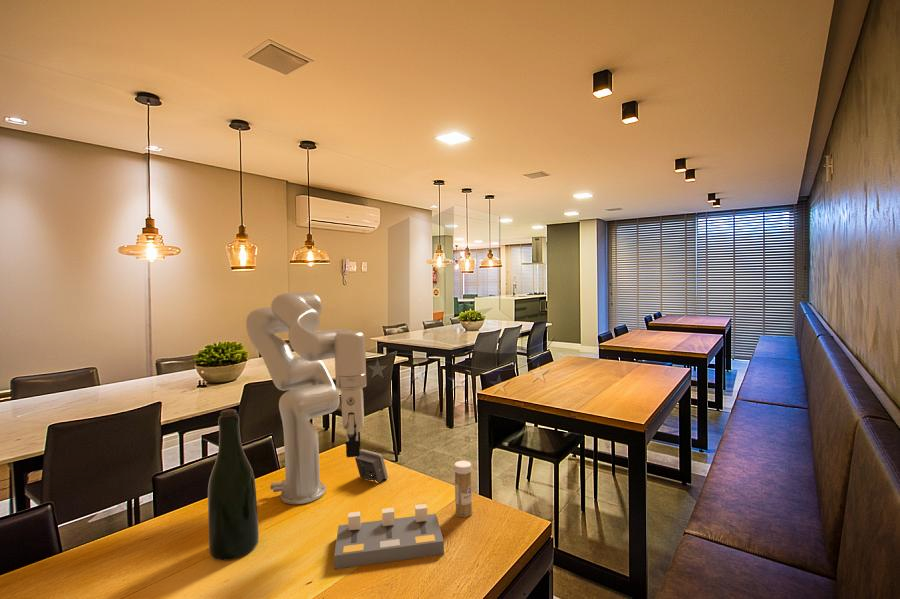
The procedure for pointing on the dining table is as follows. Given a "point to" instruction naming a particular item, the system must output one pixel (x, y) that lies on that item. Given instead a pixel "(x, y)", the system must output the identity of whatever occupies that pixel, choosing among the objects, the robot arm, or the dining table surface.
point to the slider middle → (388, 516)
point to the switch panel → (388, 542)
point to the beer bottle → (231, 495)
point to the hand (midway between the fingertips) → (353, 451)
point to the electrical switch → (371, 466)
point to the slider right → (421, 512)
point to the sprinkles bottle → (463, 488)
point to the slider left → (354, 520)
